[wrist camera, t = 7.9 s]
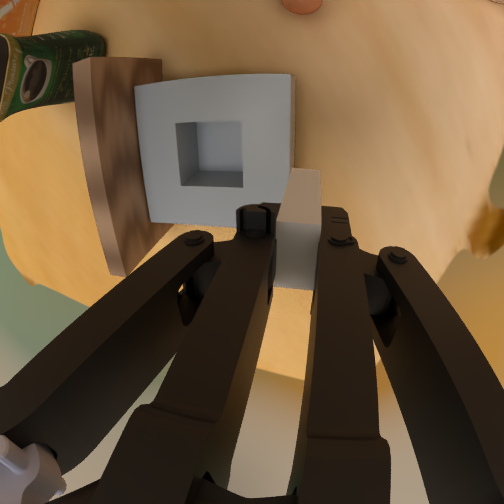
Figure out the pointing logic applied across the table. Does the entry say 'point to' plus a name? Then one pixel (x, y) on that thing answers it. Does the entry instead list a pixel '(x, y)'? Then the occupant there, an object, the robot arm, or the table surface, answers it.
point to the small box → (17, 16)
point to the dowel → (302, 6)
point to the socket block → (215, 145)
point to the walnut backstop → (116, 155)
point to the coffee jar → (42, 68)
